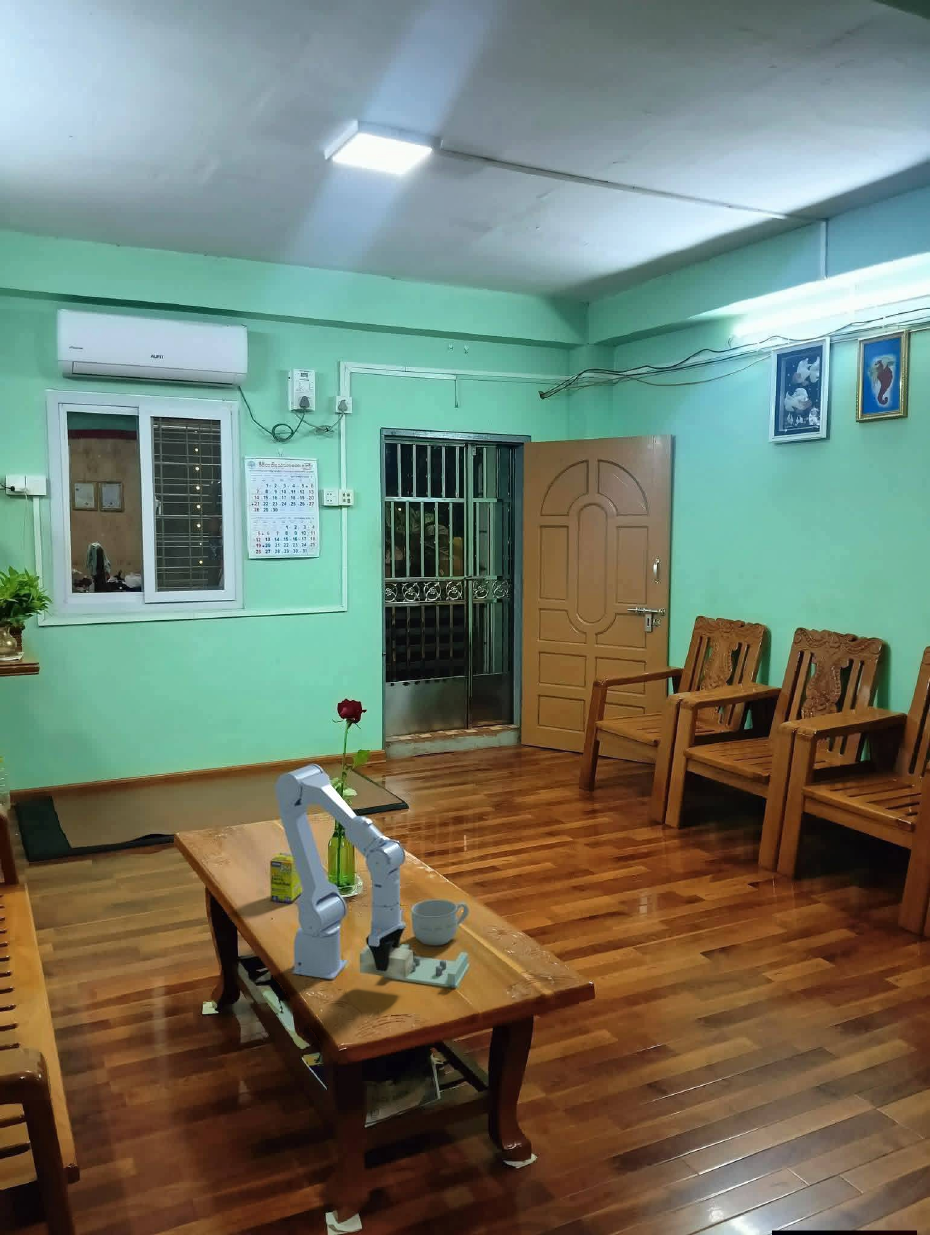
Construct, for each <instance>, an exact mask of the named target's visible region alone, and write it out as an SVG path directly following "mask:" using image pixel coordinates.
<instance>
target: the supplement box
mask: <svg viewBox="0 0 930 1235" xmlns="http://www.w3.org/2000/svg"><path fill="white" fill-rule="evenodd" d="M269 864H270V865H269V870H270V871H269V872H270V876H269V877H270V901H271V902H272V901H276V903H284V904H290V903H291V904H290V905H293V903H294V902H295V901H296V900H297V899H299V897H300V895H301V893H302V886H301V883H300V879H299V876H298V873H297V870H296V866H295V863H294V860H293V857H292V854H291V853H284V852H279V853H278V854H276V855H275V856H273V858H271V859H270V860H269Z"/></svg>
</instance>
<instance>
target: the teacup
mask: <svg viewBox="0 0 930 1235" xmlns="http://www.w3.org/2000/svg"><path fill="white" fill-rule="evenodd" d="M460 908H463V913H462V914H461V915H460V916H459V917H458V911H459V909H460ZM469 910H470V909H469V907H468V905H467V903H465V902H461V901H460V902H457V903H454V902H453V901H450V900H447V899H436V898H435V899H427V900H422V901H419V902H417V903H414V904H413V905H412V906H411V908H410V913H411V926H412V932H413V935H414V938H416V939H417V940H418V941H420V943H422V944H424V945H426V946H432V947H433V946H434V947H435V946H440V945H441V946H442V945H445V944H447V943H448V942H450V941H451V940H452V939H453V938H454V937H455V936H456V934H457V931H458V927H459V925H460V924H461V923H462V922H464V921H465V919H466V918H467V916H469Z"/></svg>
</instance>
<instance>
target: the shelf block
mask: <svg viewBox="0 0 930 1235" xmlns="http://www.w3.org/2000/svg"><path fill="white" fill-rule="evenodd" d="M413 953H414V951H413V949H409V950H408V949H401V948H399V947H398V948H394V947H391V951H390V956H389V964H388V968H387V971H380V970H377V969H376V965H375V961H374V958H373V954H372V952H371V950H370V948H369V946H368V945H367V944H366V945H365V946H364V947H363V949H362V950H361V951H360V952H359V973H361V974H367V975H373V976H380V977H384V976H385V977H392V978H399V979H406V978H407V977H408V975H409V974H410V973H411V971H412V970H413V956H414V954H413Z"/></svg>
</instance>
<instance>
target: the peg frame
mask: <svg viewBox="0 0 930 1235" xmlns="http://www.w3.org/2000/svg"><path fill="white" fill-rule="evenodd" d="M398 948H401V949H408V950H410V945H409V944H403V943H402V944H401V945H399V946H398ZM470 967H471V963H469V952H463V951H461V952H459V954H458V956H457V958H456V959H455V961H453V960H446V959H445V960H444V959H437V958H430V957H423V956H417V955H413V970H412V971H411V973H410V974H409V975H408V977H407V978H406V979H399V978H392V977H385V976H383V977H384V979H390V980H396V981H403V982H409V983H410V982H411V983H417V984H424V985H431V986H436V987H445V988H449V989H450V988H453V989H458V988H459V985H461V983H462V980H463V979H464V977H465V976H466V974H467V972H468V970H469V968H470Z"/></svg>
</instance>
